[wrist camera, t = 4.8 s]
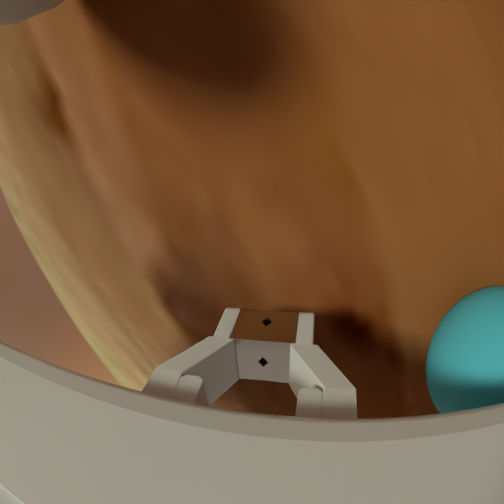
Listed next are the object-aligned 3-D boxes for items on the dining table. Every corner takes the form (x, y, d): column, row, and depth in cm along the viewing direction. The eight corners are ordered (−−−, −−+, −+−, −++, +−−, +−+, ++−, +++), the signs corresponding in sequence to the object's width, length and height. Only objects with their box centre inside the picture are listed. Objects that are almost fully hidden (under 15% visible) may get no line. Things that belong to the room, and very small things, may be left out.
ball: (596, 339, 5) (520, 266, 10) (535, 356, 4) (438, 251, 9) (517, 440, 7) (470, 360, 12) (428, 475, 7) (385, 367, 12)
